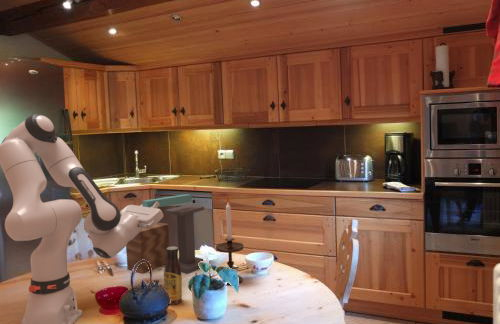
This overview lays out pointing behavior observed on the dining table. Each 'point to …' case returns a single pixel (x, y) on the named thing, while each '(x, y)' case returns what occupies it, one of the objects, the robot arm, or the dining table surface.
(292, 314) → the dining table surface
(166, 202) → the teal rod
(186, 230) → the dark grey pedestal stand
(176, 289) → the sauce bottle
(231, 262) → the candlestick
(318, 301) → the dining table surface
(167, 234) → the walnut block
